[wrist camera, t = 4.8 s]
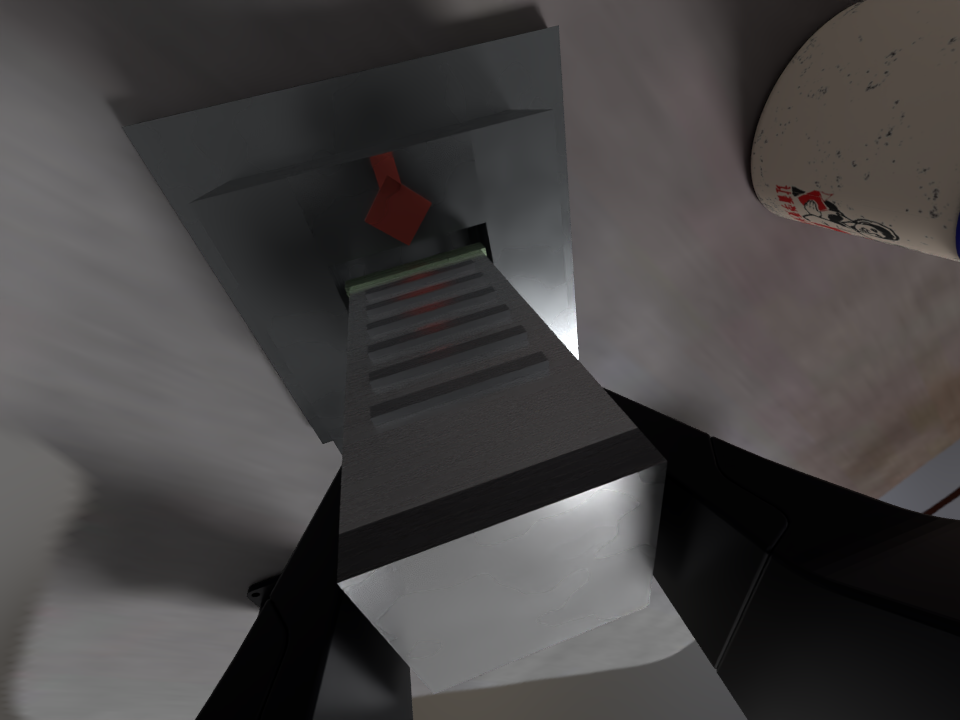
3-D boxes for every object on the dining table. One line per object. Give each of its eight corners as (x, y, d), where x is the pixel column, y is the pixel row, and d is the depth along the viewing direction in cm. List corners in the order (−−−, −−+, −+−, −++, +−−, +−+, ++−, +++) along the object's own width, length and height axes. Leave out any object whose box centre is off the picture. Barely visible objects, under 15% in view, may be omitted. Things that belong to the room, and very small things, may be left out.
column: (391, 388, 14) (429, 698, 7) (344, 278, 11) (321, 579, 4) (502, 352, 14) (653, 606, 7) (479, 240, 12) (676, 449, 5)
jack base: (323, 433, 20) (316, 508, 16) (134, 126, 12) (31, 133, 8) (571, 351, 22) (617, 403, 18) (548, 29, 14) (624, -3, 10)
